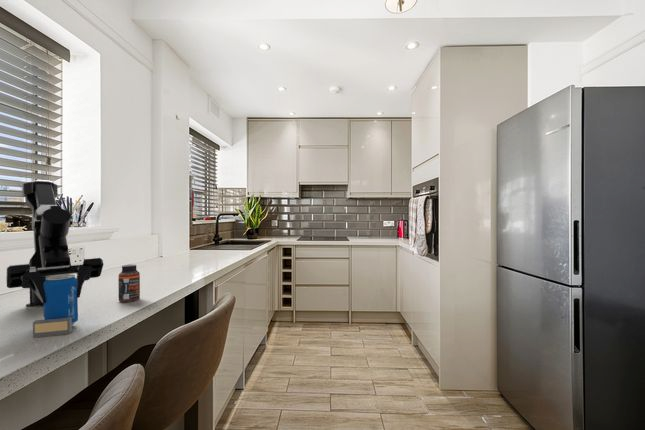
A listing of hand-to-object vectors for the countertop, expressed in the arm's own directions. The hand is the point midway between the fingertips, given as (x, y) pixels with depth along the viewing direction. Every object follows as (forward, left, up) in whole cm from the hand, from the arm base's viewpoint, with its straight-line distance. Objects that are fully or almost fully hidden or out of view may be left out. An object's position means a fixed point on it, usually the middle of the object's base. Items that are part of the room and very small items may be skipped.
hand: (62, 299), depth 79 cm
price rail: (0, -4, -7) cm, 8 cm away
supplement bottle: (+4, +26, -7) cm, 27 cm away
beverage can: (-1, +1, -7) cm, 7 cm away
